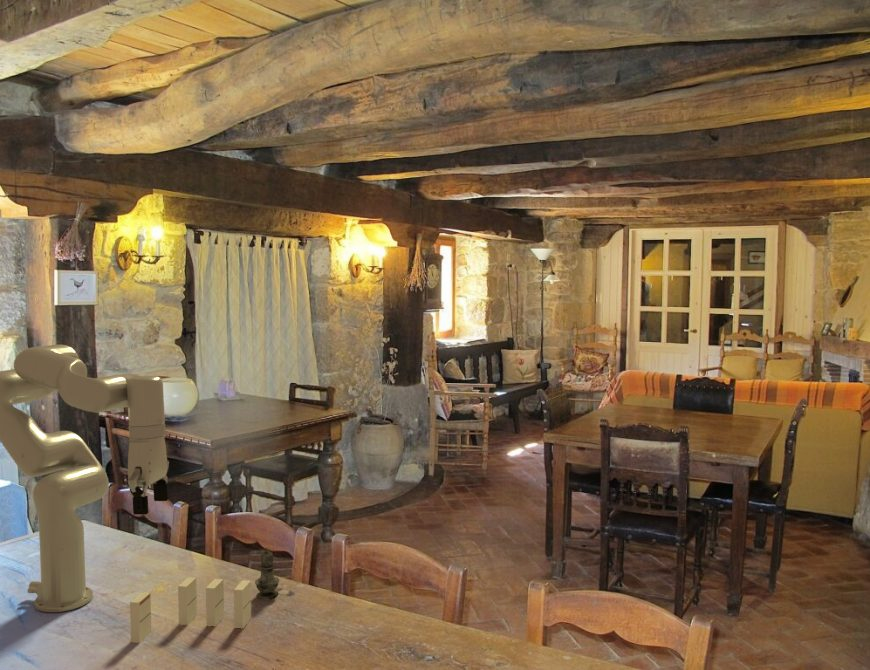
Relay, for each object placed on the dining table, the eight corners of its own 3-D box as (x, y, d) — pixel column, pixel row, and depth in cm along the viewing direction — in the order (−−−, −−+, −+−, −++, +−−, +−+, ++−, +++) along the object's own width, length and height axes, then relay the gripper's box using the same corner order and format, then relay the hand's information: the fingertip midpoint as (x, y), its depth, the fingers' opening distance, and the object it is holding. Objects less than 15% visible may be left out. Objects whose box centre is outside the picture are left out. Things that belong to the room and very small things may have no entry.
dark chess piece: (273, 601, 180) (273, 553, 179) (250, 599, 181) (250, 551, 180) (283, 591, 185) (282, 544, 184) (261, 589, 187) (260, 542, 186)
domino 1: (130, 642, 159) (129, 602, 159) (142, 631, 164) (141, 592, 163) (139, 643, 159) (138, 602, 158) (151, 631, 164) (150, 592, 163)
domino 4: (234, 628, 166) (233, 589, 165) (242, 618, 171) (242, 580, 170) (243, 629, 166) (242, 590, 165) (251, 618, 171) (250, 580, 170)
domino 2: (178, 624, 167) (178, 586, 167) (188, 614, 172) (187, 577, 172) (187, 625, 167) (186, 586, 166) (197, 615, 172) (196, 577, 171)
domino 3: (206, 626, 167) (205, 587, 166) (215, 616, 172) (214, 578, 171) (215, 627, 166) (214, 588, 166) (224, 616, 171) (223, 579, 171)
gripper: (149, 424, 174) (152, 496, 175) (111, 440, 157) (115, 519, 158) (180, 424, 173) (183, 496, 175) (145, 440, 156) (149, 519, 157)
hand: (151, 507), depth 166 cm, fingers open, 9 cm apart
